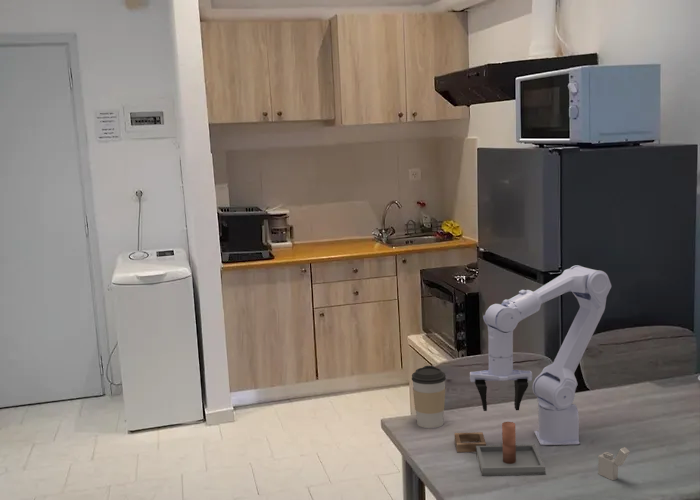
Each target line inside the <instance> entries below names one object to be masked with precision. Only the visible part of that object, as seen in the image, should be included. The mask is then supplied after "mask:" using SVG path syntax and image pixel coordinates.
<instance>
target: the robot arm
mask: <svg viewBox="0 0 700 500" xmlns="http://www.w3.org/2000/svg"><path fill="white" fill-rule="evenodd" d="M611 289H612V283H611V280H610V278H609V275H608V273H606V272H605V271H603V270H600V269H599V270H597V269H592V268H589V267H584V266H582V265H578V264H577V265H573V266H571V267H570V268H567V269H564V270H563V272H562V273H561V274H560V275H558V276H556V277H555V278H553V279H552V280H550V281H549V282H547V283H545V284H543V285H541V287H539V288H537V289H536V290H534V291H532V290H530V289H526V290H525V289H520V290H519V291H518V294H516V295H515V296H513V297H511V298H509V299H504V300H502V302H501V304H500V303H494V304H491V305H490V306H489V307H488V308H487V309H486V311H485V314H484V315H483V316H482V318H483V322H484V323H485V325H486V326H487V332H488V333H487V337H488V345H487V346H488V347H487V349H488V354H487V355H488V369H485V370H477V371H470V372H469V381H470V383H474V384H475V387H476V389H477V390H478V394H479V396H480V400H481V405H482V410H483V411H484V412H487V411H488V403H487V390H488V387H487V382H491V381H492V382H495V381H497V382H498V381H501V382H502V381H513V382H514V401H513V402H514V403H513V404H514V409H515V411H520V407H521V403H522V399H523V396H524V395H525V393H526V391H527V389H528V387H529V382H532V381H533V382H532V387H531V388H532V389H531V390H532V392H533V394H534V395H535V396H536V398H537V399H536V401H537V403H538V404H537V409H538V411H537V412H538V413H537V414H538V419H537V420H538V422H537V423H538V430H534V434H535V437H536V438H537V440H538V442H539V445H541V446H556V445H557V446H560V445H561V446H564V445H566V446H568V445H580V435H579V434H580V419H579V409H578V407H577V405H576V404H575V403H573V402H574V400H575V397H576V390H577V386H578V381H577V378H576V376H575V372H576V370H577V368H578V366H579V364H580V363H581V360H582V358H583V356H584V353H585V352H586V350H587V348H588V345H589V343H590V341H591V339H592V337H593V335H594V333H595V332H596V329H597V327H598V324H599V323H600V320H601V319H602V316H603V314H604V313H605V311H606V310H605V309H606V303H607V297H608V295H609V293H610V290H611ZM569 292H570V293H571V292H572V295H574V297H575V298H576V300H577V302H578V304H579V309H578V311H577V313H576V315H575V316H574V319H573V321H572V323H571V325H570V327H569V329H568V332H567V334H566V335H565V337H564V339H563V341H562V344H561V346H560V347H559V350H558V352H557V354H556V356H555V358H554V360H553V362H552V363H550V364H548V365H546V366H545V367H543V369H542V371H541V372H540V373H539V374H538V375H537V376H536V377H535V378H534V380H533V372H532V371H531V370H521V369H514V330H515V329H516V328H517V326H518V323H519V322H521V321H523V320H525V319H527V318H528V317H530V316H531V315H534V314H535V313H537V312H539V311H540V310H541V306H542V304H544V303H546V302H548V301H551V300H552V299H553V300H554V299H555V298H558V297H559V296H561V295H563V294H566V293H569Z"/></svg>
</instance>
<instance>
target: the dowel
mask: <svg viewBox="0 0 700 500" xmlns="http://www.w3.org/2000/svg"><path fill="white" fill-rule="evenodd" d="M501 430H502V431H501V435H502V437H501V438H502V440H501V442H502V444H501V445H503V462H504V463H507V464H513V463H515V462H516V445H517V443H516V441H517V440H516V439H517V437H516V436H517V435H516V434H517V433H516V423H515V422H513V421H504V422H502V424H501Z"/></svg>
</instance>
